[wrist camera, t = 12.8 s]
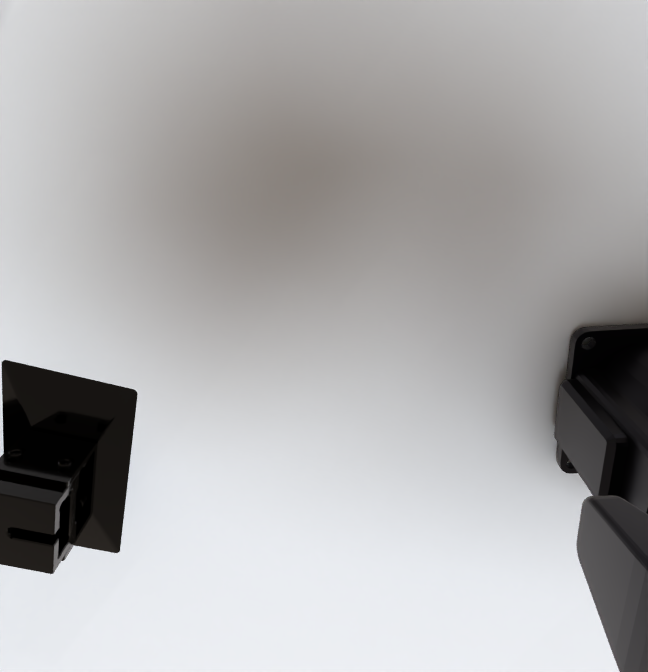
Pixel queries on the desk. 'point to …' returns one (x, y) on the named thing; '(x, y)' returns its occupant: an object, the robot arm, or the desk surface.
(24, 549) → the build plate
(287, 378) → the desk surface
